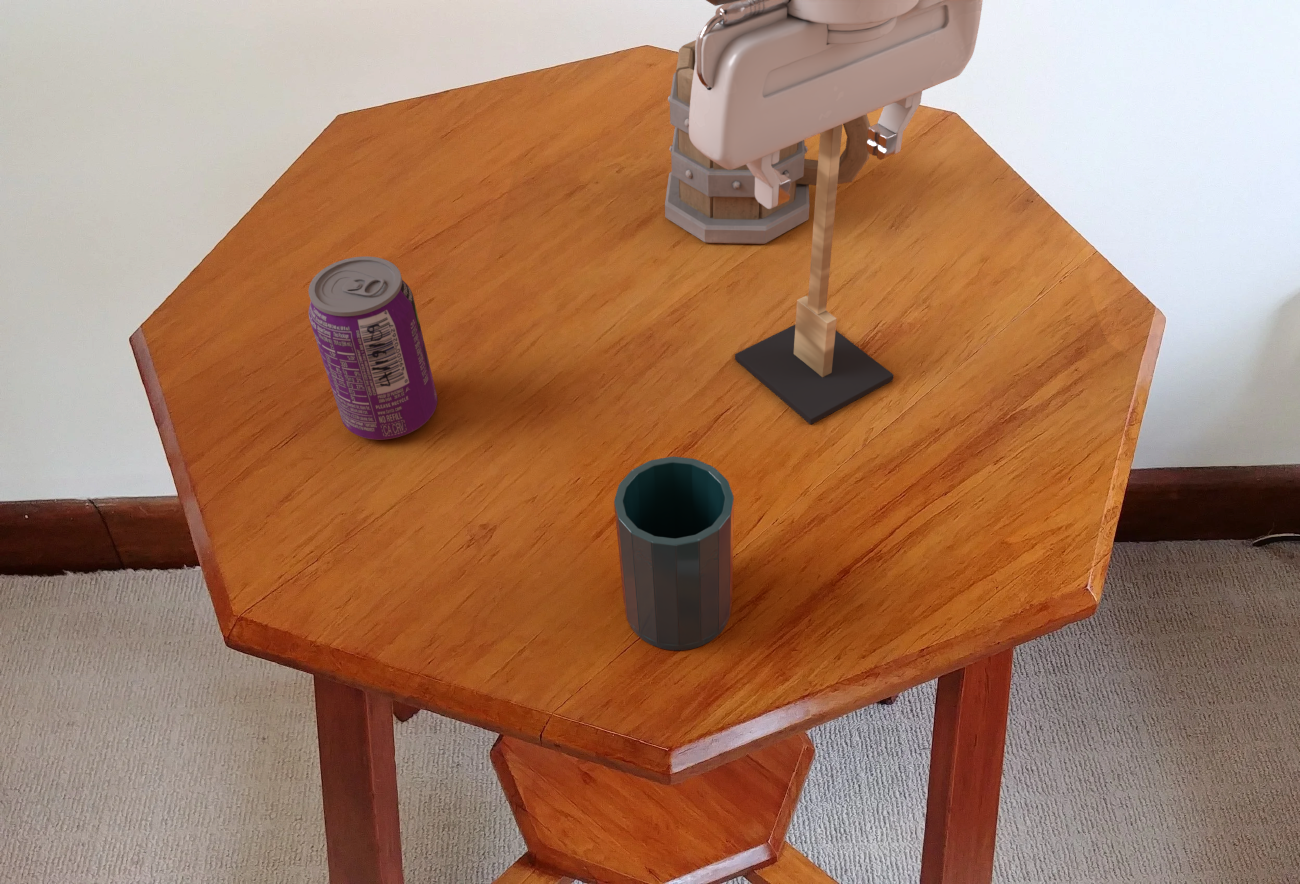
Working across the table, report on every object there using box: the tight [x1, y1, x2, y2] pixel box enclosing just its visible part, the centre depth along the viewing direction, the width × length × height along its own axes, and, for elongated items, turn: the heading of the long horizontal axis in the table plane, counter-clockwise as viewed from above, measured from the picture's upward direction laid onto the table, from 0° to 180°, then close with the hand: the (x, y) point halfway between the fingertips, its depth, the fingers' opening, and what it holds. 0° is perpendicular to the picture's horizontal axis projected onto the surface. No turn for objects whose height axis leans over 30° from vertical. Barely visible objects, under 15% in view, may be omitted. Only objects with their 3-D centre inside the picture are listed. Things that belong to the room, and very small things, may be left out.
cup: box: [613, 456, 735, 652], centre depth 66 cm, size 7×7×10 cm
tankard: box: [664, 39, 872, 245], centre depth 95 cm, size 20×13×15 cm, turn 85°
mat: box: [734, 324, 895, 425], centre depth 85 cm, size 9×8×1 cm
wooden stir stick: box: [794, 124, 844, 377], centre depth 77 cm, size 3×1×20 cm, turn 34°
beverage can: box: [308, 256, 438, 440], centre depth 79 cm, size 7×7×12 cm
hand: (828, 177), depth 73 cm, fingers open, 8 cm apart
